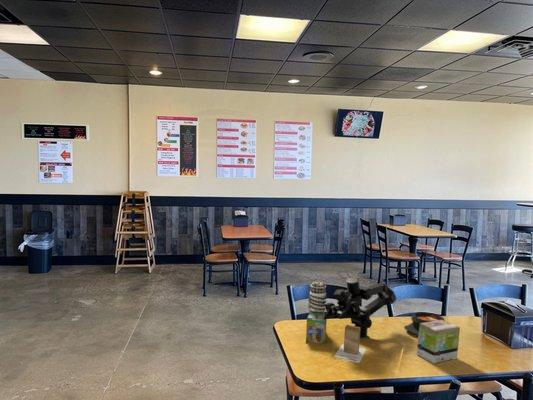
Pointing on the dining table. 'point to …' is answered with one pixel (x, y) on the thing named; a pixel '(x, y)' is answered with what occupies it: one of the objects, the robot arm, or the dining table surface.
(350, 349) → the block
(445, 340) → the tea box
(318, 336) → the chalk box
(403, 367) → the dining table surface
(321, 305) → the leaning tower model
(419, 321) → the casserole
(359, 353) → the board
